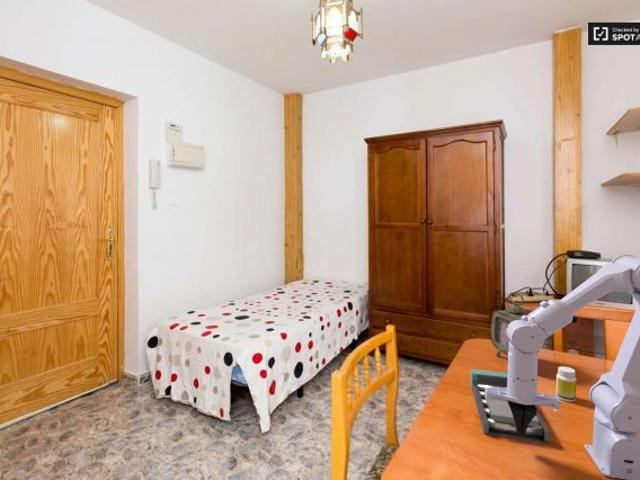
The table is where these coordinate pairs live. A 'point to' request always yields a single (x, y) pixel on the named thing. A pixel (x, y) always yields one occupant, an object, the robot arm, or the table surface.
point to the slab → (504, 412)
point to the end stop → (489, 378)
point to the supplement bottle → (566, 384)
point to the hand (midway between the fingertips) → (520, 433)
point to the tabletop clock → (505, 324)
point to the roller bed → (504, 434)
